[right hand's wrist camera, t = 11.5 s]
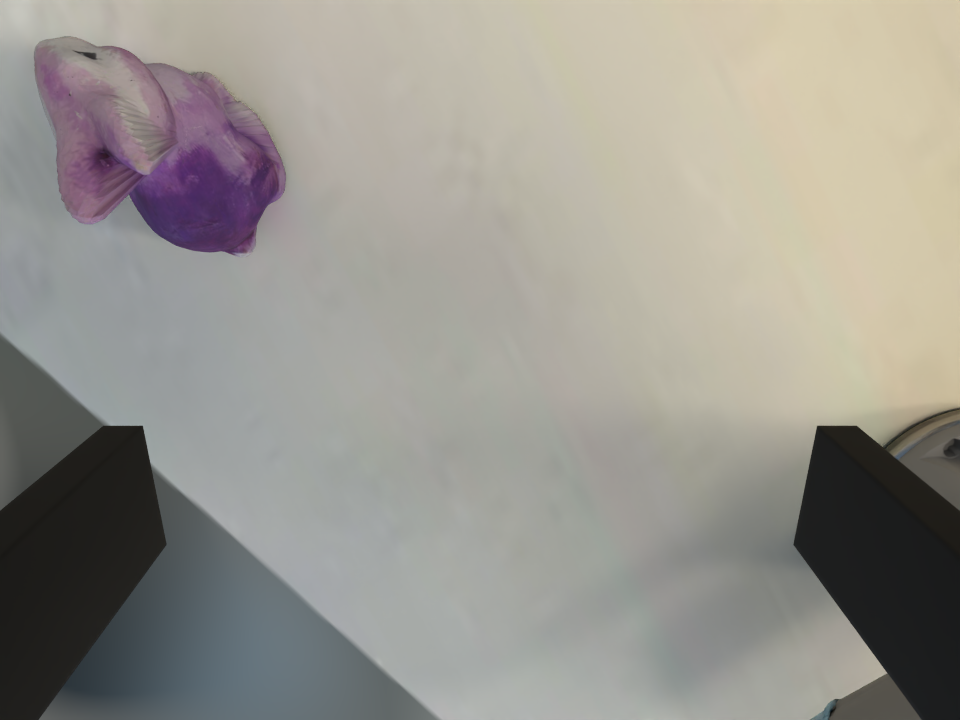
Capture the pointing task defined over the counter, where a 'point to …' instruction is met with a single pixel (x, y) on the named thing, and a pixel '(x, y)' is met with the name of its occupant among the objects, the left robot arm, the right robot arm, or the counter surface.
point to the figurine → (156, 146)
